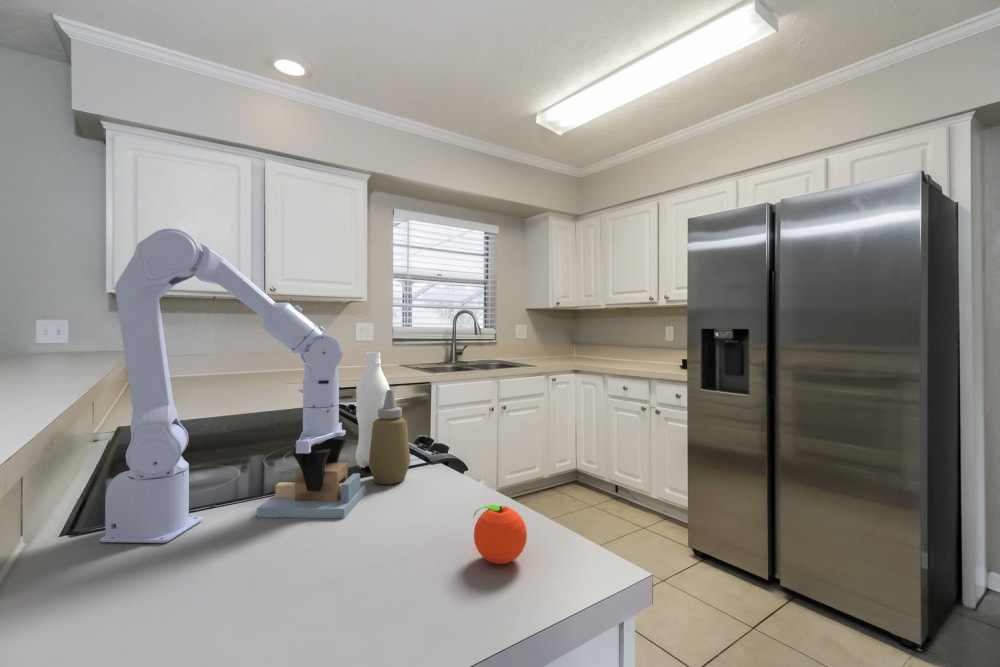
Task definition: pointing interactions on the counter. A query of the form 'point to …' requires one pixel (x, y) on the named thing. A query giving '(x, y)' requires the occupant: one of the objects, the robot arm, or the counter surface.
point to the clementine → (500, 534)
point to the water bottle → (369, 404)
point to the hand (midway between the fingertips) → (320, 484)
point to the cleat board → (312, 502)
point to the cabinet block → (330, 486)
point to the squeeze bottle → (389, 444)
